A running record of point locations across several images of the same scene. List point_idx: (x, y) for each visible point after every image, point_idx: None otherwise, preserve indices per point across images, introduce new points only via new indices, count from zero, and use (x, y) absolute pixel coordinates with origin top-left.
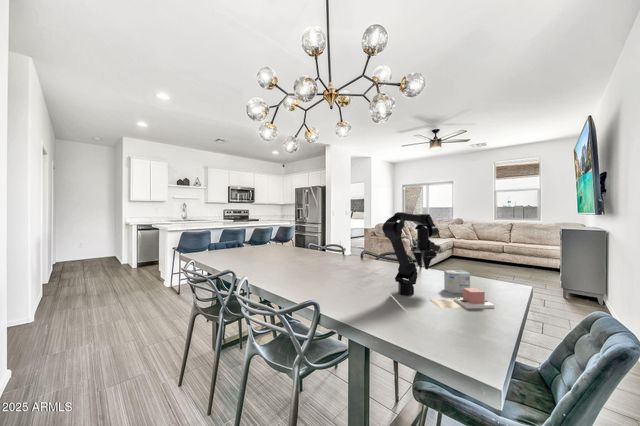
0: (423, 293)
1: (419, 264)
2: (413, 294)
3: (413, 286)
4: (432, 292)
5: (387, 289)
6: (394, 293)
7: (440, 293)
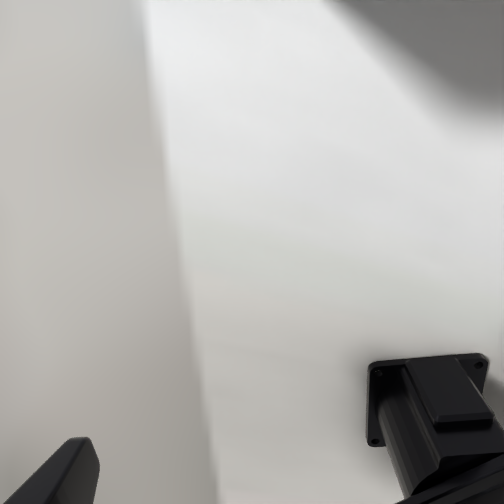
0: (379, 248)
1: (85, 478)
2: (457, 360)
3: (493, 417)
4: (350, 143)
5: (261, 475)
6: (363, 451)
7: (393, 56)
